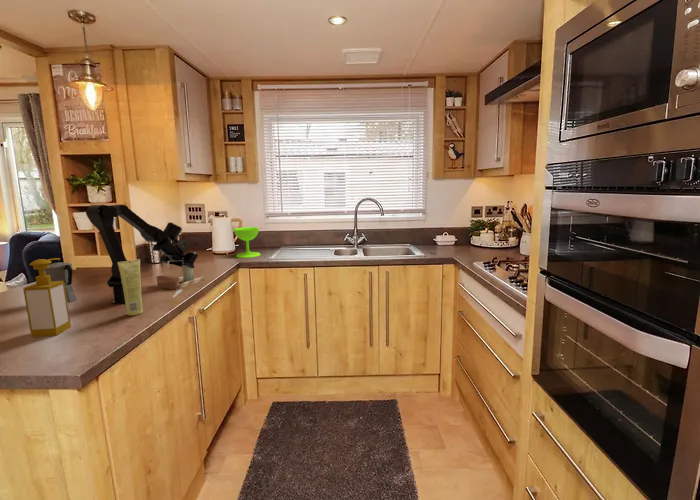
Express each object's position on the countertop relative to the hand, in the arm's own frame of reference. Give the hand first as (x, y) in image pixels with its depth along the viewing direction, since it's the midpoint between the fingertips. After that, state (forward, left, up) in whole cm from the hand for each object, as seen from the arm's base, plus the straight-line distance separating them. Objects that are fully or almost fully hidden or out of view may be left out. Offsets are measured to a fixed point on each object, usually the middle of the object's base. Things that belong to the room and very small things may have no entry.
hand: (189, 267), depth 181 cm
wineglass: (+66, -13, -7) cm, 68 cm away
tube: (-48, +2, -7) cm, 49 cm away
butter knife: (-29, -4, -7) cm, 30 cm away
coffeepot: (-29, +40, -7) cm, 50 cm away
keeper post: (-1, +1, -7) cm, 7 cm away
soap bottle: (-61, +20, -7) cm, 65 cm away
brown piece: (-5, +2, -7) cm, 9 cm away
